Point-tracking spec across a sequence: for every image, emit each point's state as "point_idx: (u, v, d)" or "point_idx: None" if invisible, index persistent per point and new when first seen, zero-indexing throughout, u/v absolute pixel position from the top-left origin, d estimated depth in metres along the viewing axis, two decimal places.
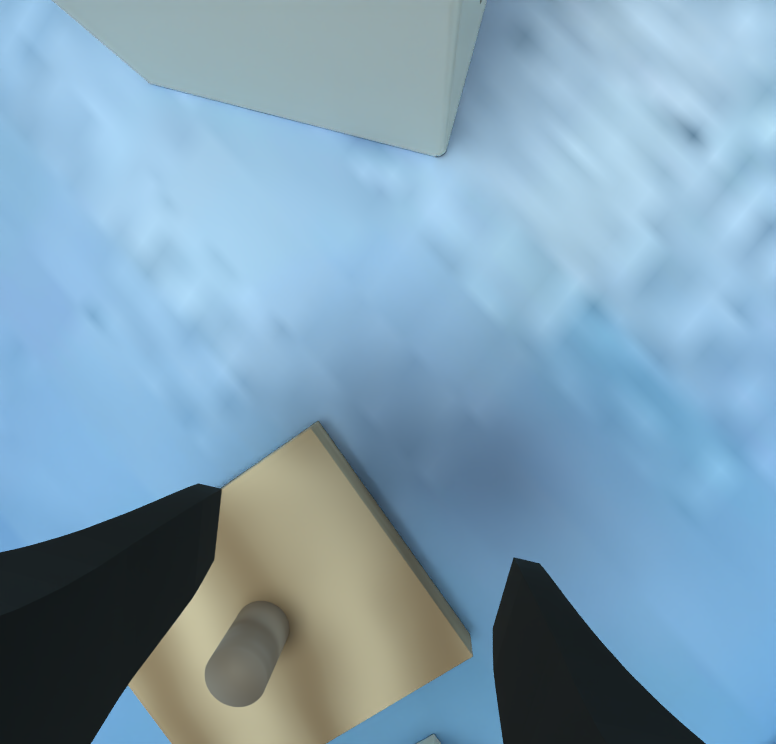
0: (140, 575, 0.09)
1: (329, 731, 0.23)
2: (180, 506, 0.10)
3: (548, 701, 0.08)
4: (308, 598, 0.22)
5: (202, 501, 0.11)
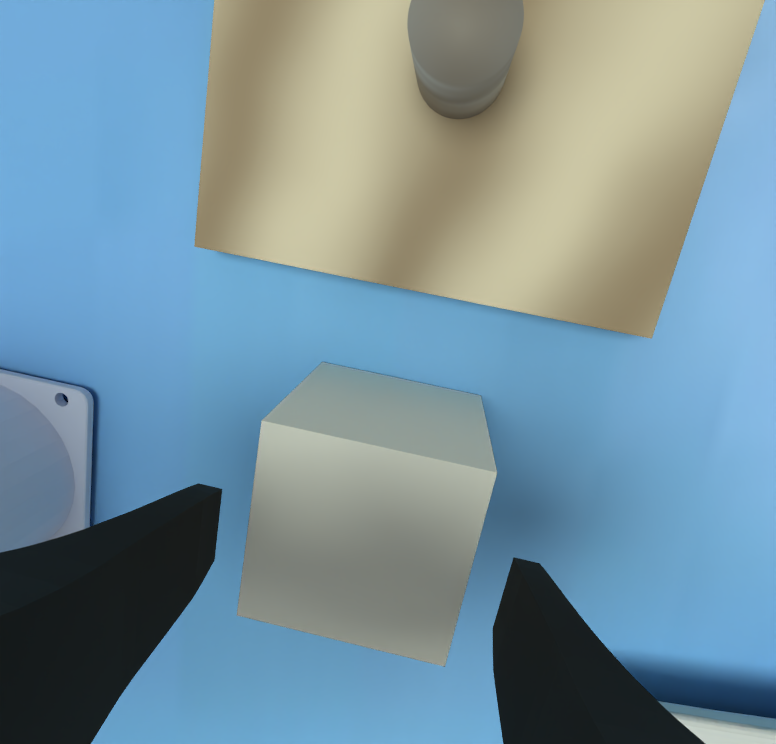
0: (140, 575, 0.09)
1: (407, 275, 0.15)
2: (180, 506, 0.10)
3: (548, 701, 0.08)
4: (553, 88, 0.14)
5: (202, 501, 0.11)
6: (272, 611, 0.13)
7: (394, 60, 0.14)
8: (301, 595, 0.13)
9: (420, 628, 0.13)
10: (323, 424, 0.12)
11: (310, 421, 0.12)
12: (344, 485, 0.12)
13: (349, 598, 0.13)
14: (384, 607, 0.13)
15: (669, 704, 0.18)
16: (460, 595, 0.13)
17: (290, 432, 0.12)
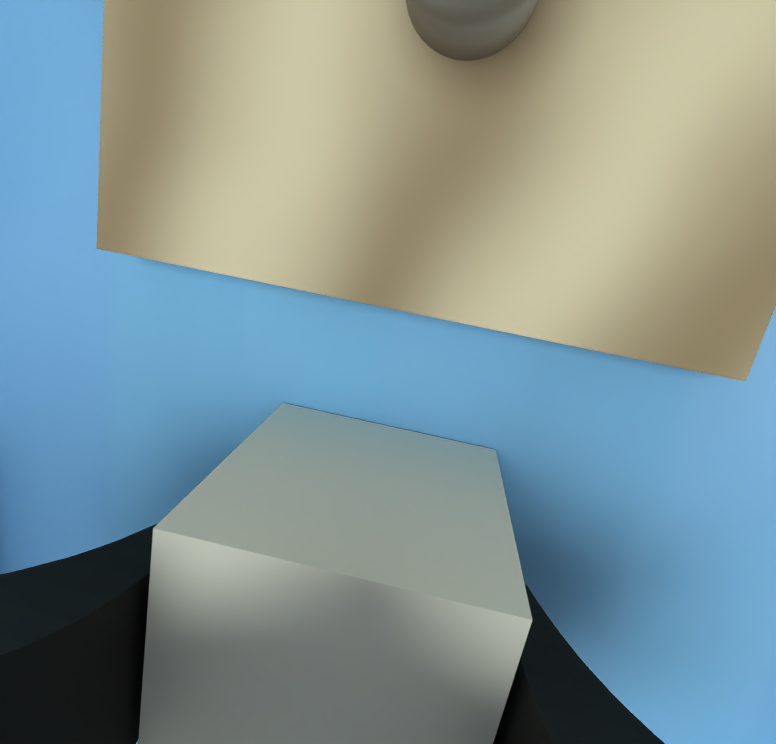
0: None
1: (393, 290, 0.11)
2: None
3: None
4: (610, 10, 0.09)
5: None
6: None
7: None
8: None
9: None
10: (256, 528, 0.08)
11: (236, 523, 0.08)
12: (287, 629, 0.08)
13: None
14: None
15: None
16: None
17: (198, 548, 0.07)
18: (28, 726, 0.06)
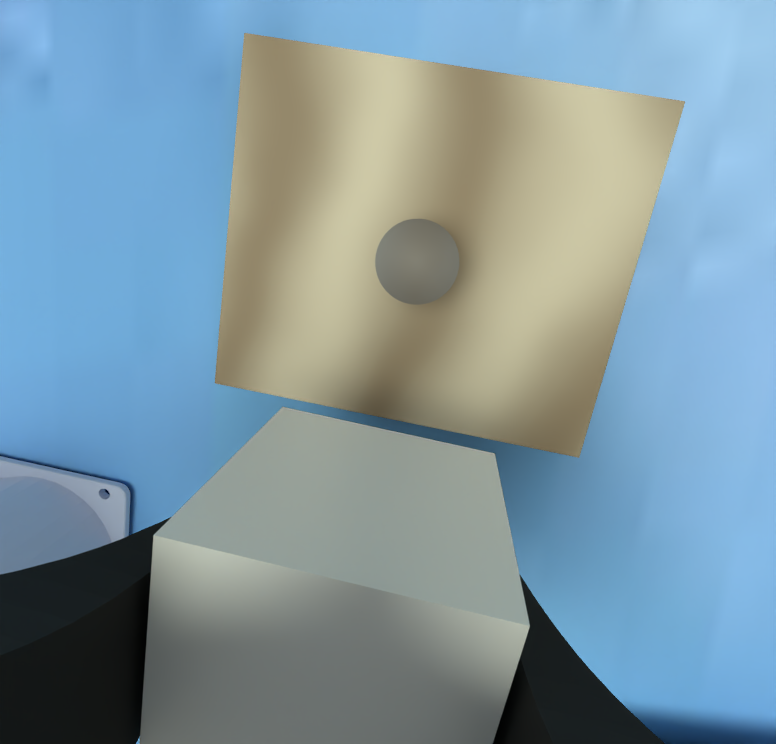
0: None
1: (384, 407, 0.19)
2: None
3: None
4: (494, 273, 0.17)
5: None
6: None
7: (371, 250, 0.18)
8: None
9: None
10: (255, 535, 0.08)
11: (236, 529, 0.08)
12: (286, 635, 0.08)
13: None
14: None
15: None
16: None
17: (199, 554, 0.08)
18: (28, 726, 0.06)
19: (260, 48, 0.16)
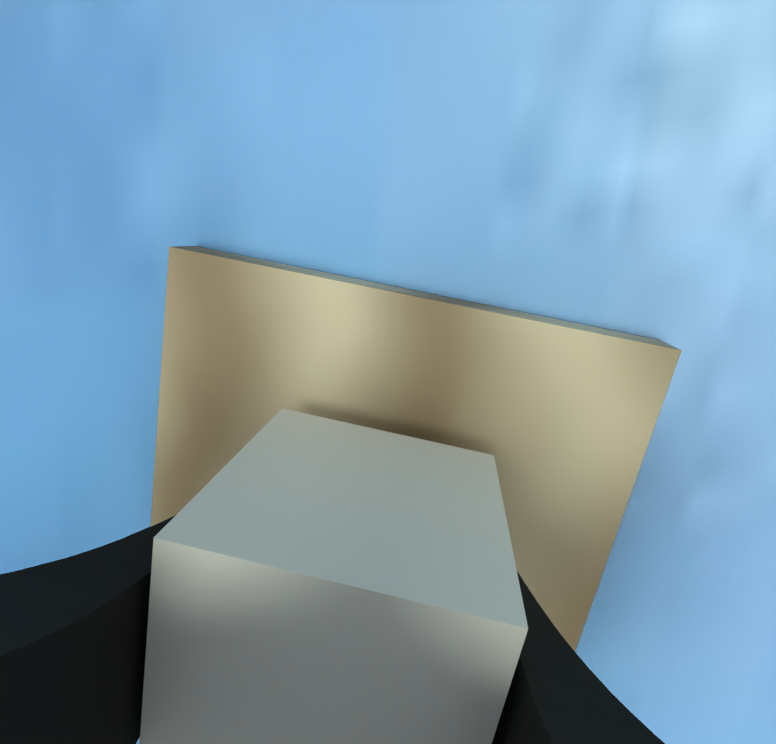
0: None
1: None
2: None
3: None
4: None
5: None
6: None
7: None
8: None
9: None
10: (255, 537, 0.08)
11: (235, 532, 0.08)
12: (285, 637, 0.08)
13: None
14: None
15: None
16: None
17: (198, 556, 0.08)
18: (28, 726, 0.06)
19: (188, 264, 0.14)
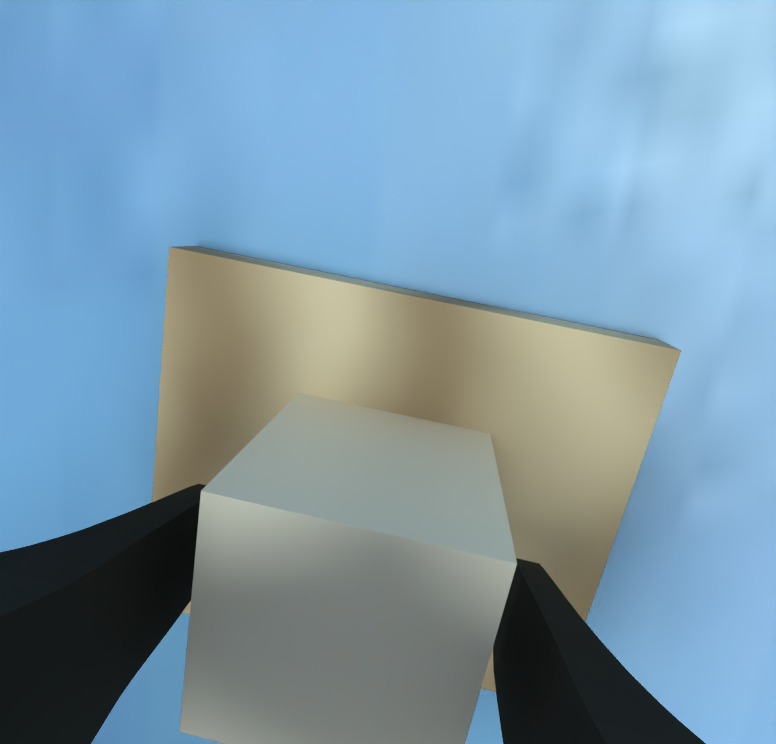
0: (140, 575, 0.09)
1: None
2: (180, 506, 0.10)
3: (548, 701, 0.08)
4: None
5: None
6: (224, 729, 0.10)
7: None
8: (260, 710, 0.10)
9: None
10: (285, 492, 0.09)
11: (268, 488, 0.09)
12: (312, 575, 0.09)
13: (322, 716, 0.10)
14: (368, 728, 0.10)
15: None
16: (467, 716, 0.09)
17: (239, 507, 0.09)
18: None
19: (188, 264, 0.14)
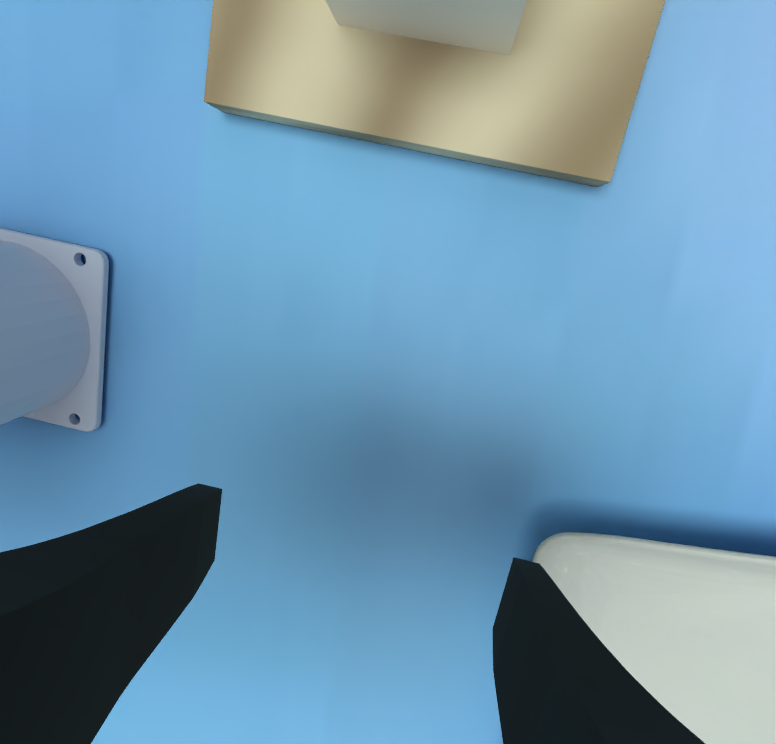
0: (140, 575, 0.09)
1: (393, 126, 0.17)
2: (180, 506, 0.10)
3: (548, 701, 0.08)
4: None
5: (202, 501, 0.11)
6: None
7: None
8: None
9: None
10: None
11: None
12: None
13: None
14: None
15: None
16: None
17: None
18: None
19: None
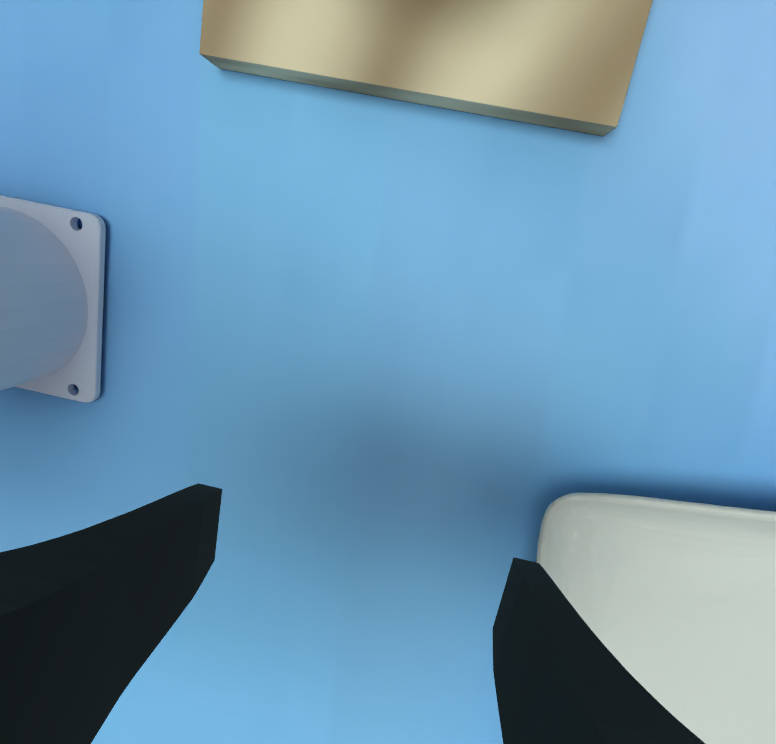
0: (140, 575, 0.09)
1: (393, 74, 0.17)
2: (180, 506, 0.10)
3: (548, 701, 0.08)
4: None
5: (202, 501, 0.11)
6: None
7: None
8: None
9: None
10: None
11: None
12: None
13: None
14: None
15: None
16: None
17: None
18: None
19: None
